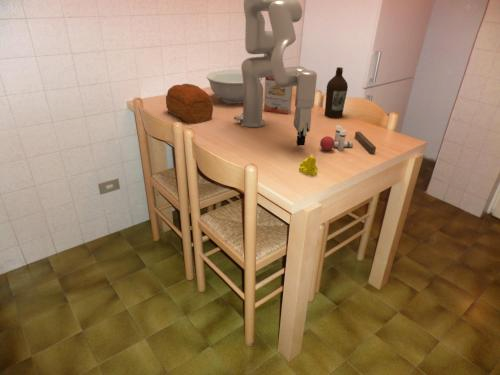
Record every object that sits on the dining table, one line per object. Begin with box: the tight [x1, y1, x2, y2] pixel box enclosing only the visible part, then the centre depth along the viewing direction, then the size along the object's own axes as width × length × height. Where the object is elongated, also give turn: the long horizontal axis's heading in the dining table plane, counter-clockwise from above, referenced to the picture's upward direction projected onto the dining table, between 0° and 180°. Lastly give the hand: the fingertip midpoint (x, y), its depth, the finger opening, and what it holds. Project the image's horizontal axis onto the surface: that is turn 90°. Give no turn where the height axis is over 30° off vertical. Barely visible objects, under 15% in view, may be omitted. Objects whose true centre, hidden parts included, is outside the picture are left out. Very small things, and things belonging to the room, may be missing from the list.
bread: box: [165, 83, 214, 124], centre depth 185 cm, size 16×27×16 cm, turn 37°
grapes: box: [298, 153, 319, 177], centre depth 133 cm, size 6×8×8 cm
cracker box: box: [263, 76, 294, 115], centre depth 192 cm, size 14×6×21 cm, turn 68°
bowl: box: [206, 69, 263, 104], centre depth 211 cm, size 32×32×15 cm
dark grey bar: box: [354, 131, 377, 155], centre depth 156 cm, size 2×18×3 cm, turn 6°
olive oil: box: [324, 66, 349, 119], centre depth 186 cm, size 11×11×25 cm
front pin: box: [332, 140, 354, 149], centre depth 155 cm, size 2×2×8 cm
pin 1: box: [334, 125, 343, 142], centre depth 155 cm, size 2×2×8 cm
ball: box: [319, 135, 335, 152], centre depth 151 cm, size 6×6×6 cm
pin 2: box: [337, 129, 347, 151], centre depth 151 cm, size 2×2×8 cm
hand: (300, 144), depth 153 cm, fingers closed
